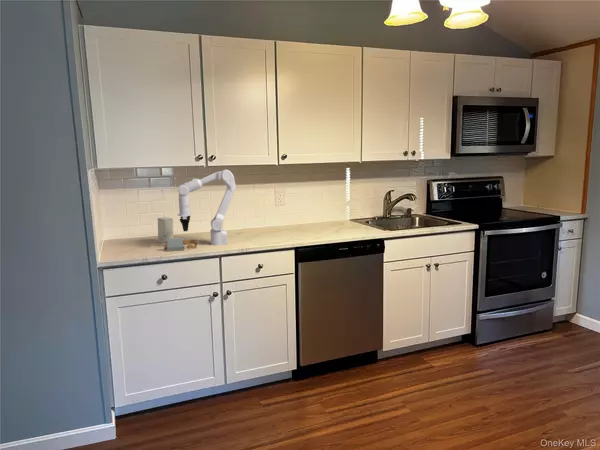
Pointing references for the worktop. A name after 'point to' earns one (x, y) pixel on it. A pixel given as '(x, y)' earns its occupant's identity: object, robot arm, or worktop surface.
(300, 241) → the worktop surface
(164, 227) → the skincare box
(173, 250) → the holder
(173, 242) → the grey flat block
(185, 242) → the wooden tray
